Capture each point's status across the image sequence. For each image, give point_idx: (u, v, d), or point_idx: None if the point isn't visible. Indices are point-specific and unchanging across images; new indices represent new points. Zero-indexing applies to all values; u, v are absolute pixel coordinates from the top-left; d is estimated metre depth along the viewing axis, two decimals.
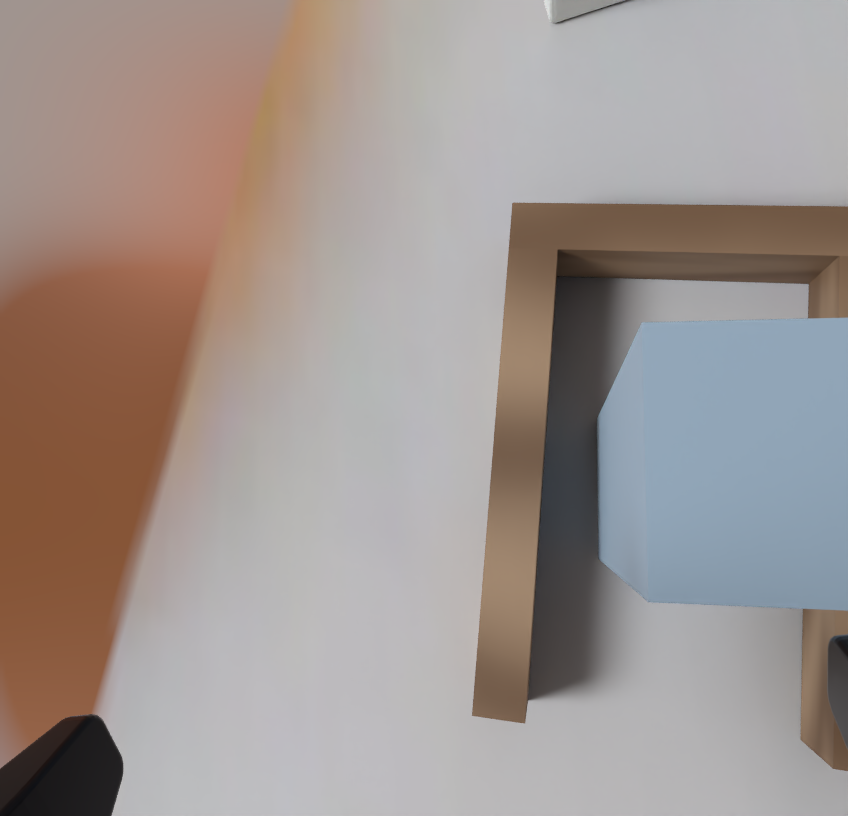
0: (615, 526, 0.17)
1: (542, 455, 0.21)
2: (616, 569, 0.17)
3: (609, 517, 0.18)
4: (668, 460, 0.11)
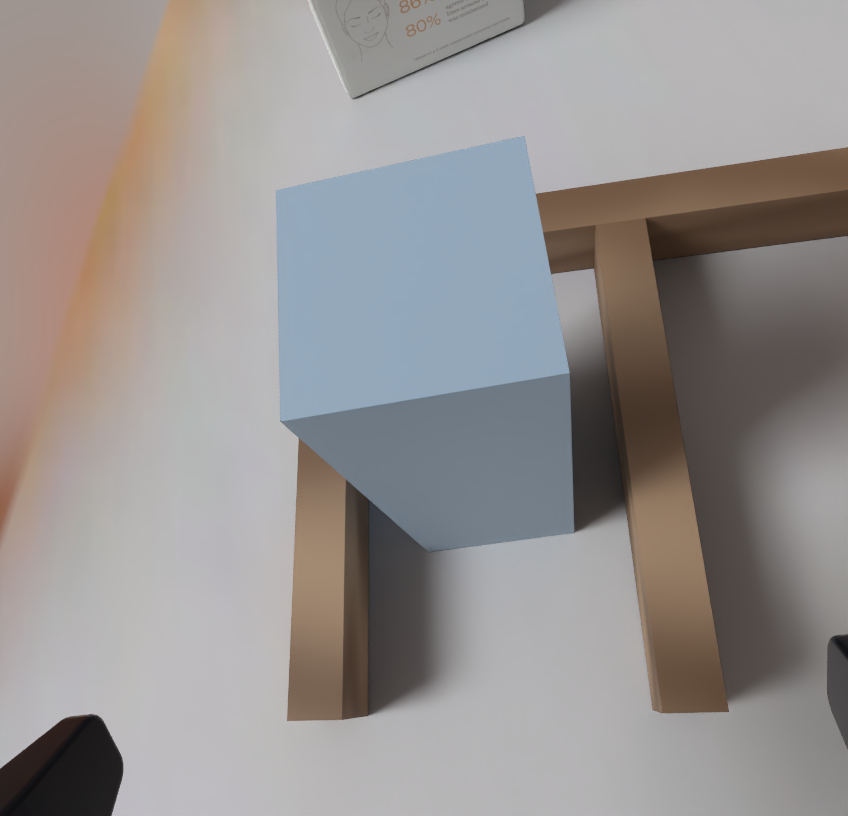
0: None
1: None
2: None
3: None
4: (298, 295, 0.12)
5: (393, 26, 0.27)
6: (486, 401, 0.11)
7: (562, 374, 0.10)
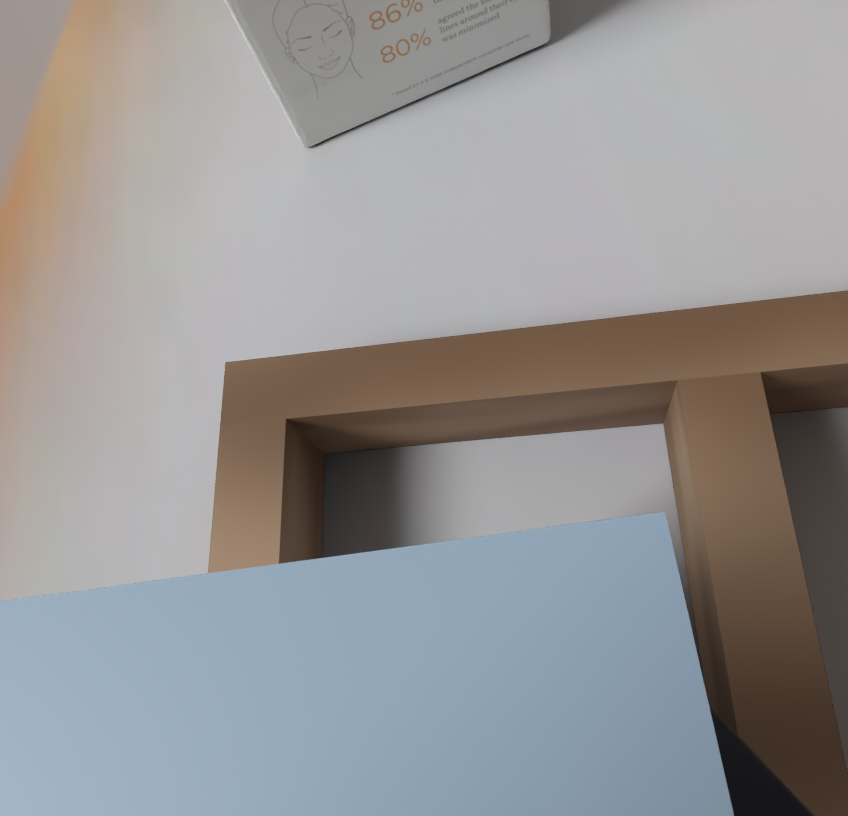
0: None
1: None
2: None
3: None
4: None
5: (362, 49, 0.19)
6: None
7: None
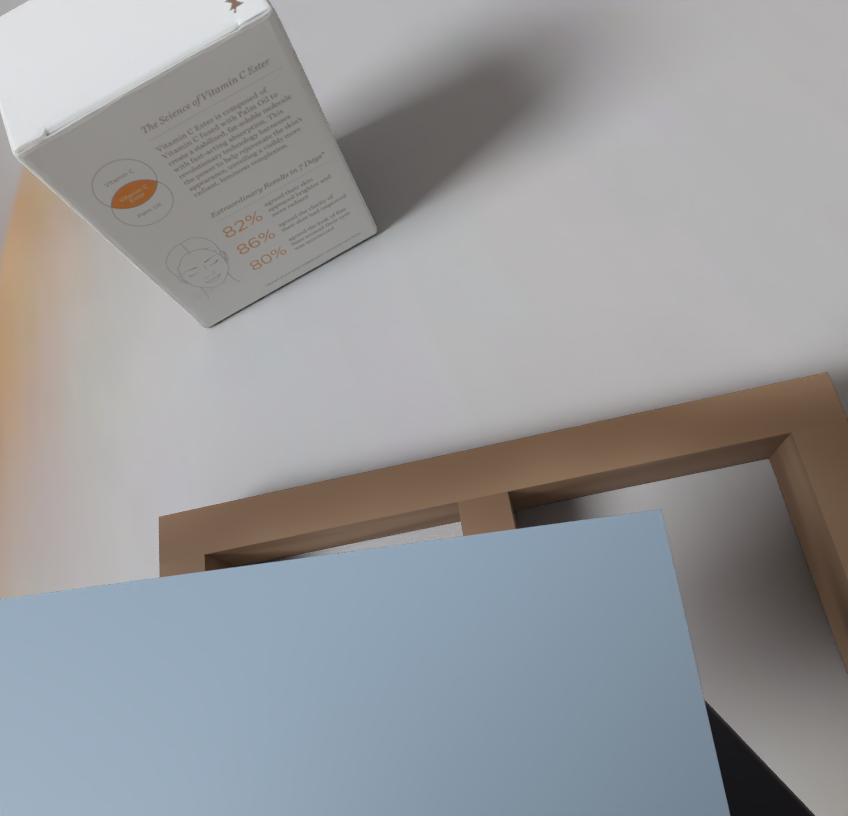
0: None
1: None
2: None
3: None
4: None
5: (236, 266, 0.26)
6: None
7: None
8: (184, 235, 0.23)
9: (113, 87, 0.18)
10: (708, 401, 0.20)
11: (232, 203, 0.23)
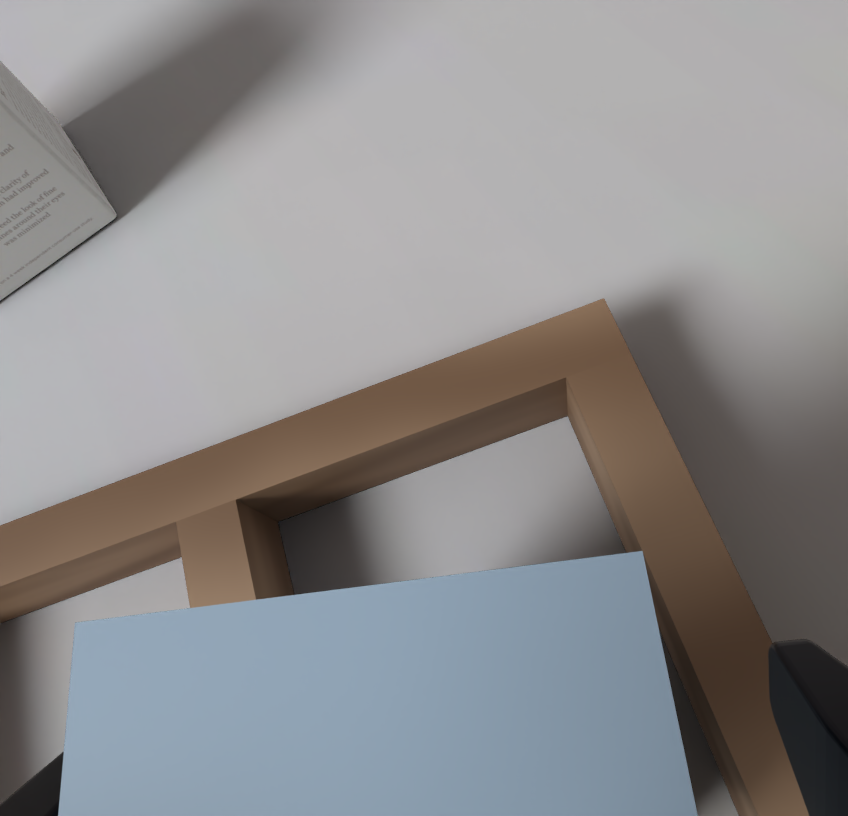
0: None
1: None
2: None
3: None
4: None
5: None
6: None
7: None
8: None
9: None
10: (468, 353, 0.16)
11: None
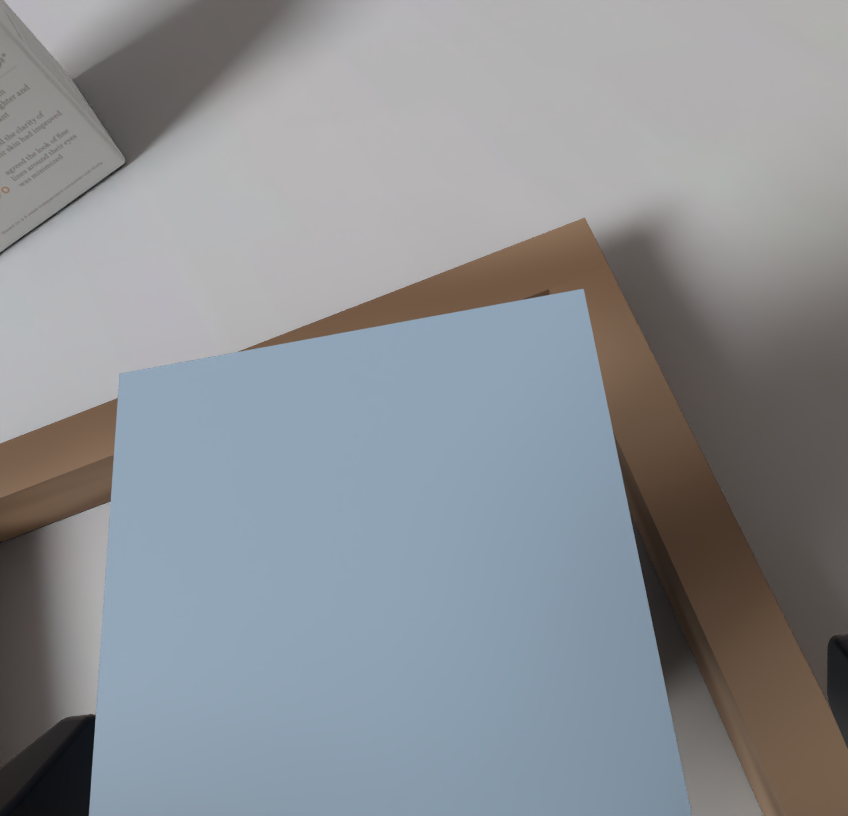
0: None
1: None
2: None
3: None
4: (141, 609, 0.06)
5: None
6: None
7: None
8: None
9: None
10: (458, 270, 0.18)
11: None
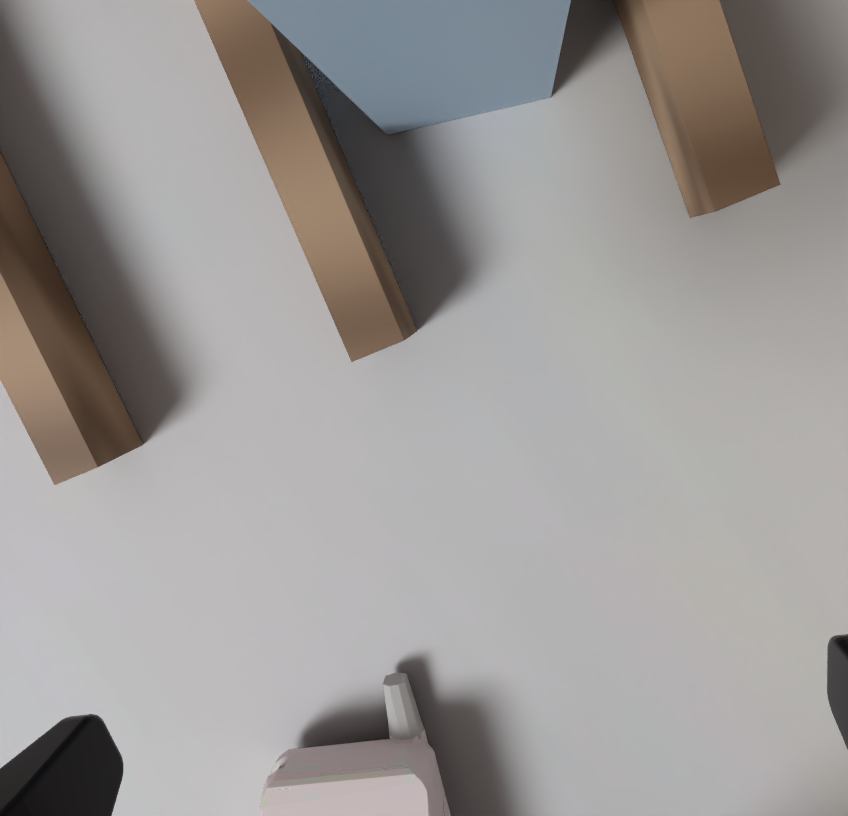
0: None
1: None
2: None
3: None
4: None
5: None
6: None
7: None
8: None
9: None
10: None
11: None
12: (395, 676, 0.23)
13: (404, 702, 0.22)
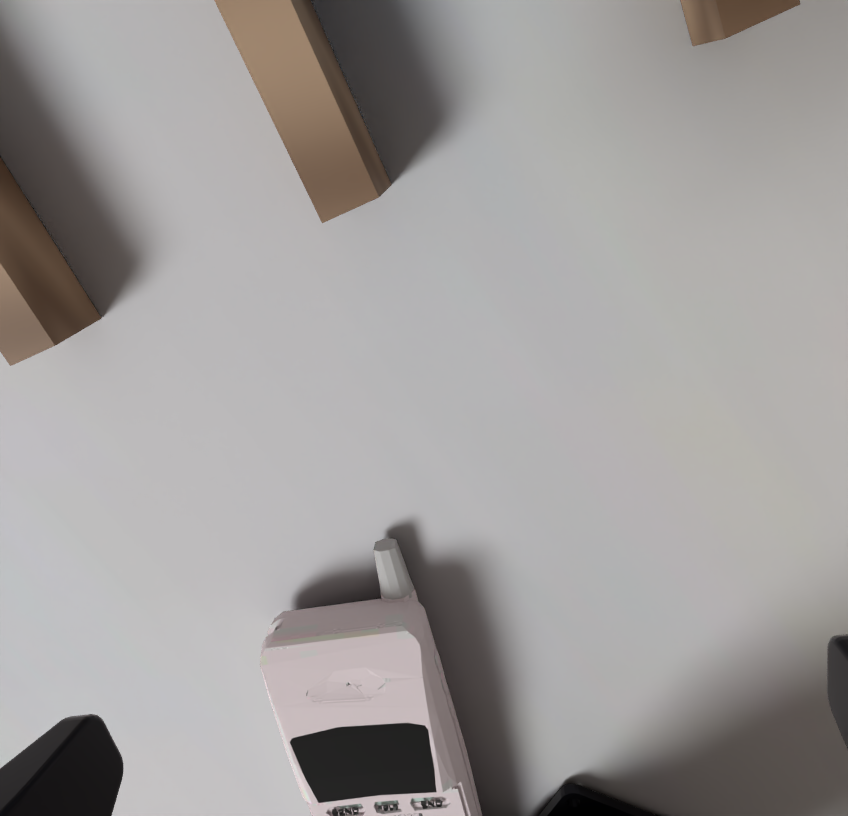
0: None
1: None
2: None
3: None
4: None
5: None
6: None
7: None
8: None
9: None
10: None
11: None
12: (385, 542, 0.23)
13: (395, 566, 0.23)
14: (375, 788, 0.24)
